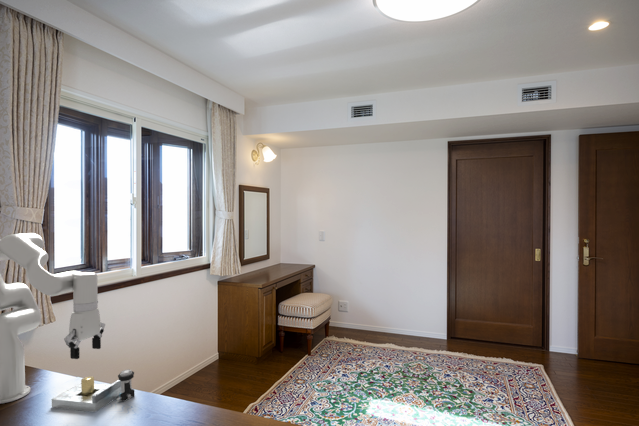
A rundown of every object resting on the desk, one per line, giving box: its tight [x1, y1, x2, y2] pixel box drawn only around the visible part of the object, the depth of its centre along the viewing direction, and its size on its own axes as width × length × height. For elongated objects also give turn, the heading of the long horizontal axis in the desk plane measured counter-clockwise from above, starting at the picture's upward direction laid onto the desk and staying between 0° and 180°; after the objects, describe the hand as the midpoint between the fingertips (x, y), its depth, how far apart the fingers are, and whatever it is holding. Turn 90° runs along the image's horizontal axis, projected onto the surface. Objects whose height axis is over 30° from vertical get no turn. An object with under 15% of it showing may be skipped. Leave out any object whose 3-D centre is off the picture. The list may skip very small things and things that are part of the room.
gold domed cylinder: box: [80, 375, 95, 397], centre depth 138 cm, size 4×4×8 cm
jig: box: [51, 379, 121, 413], centre depth 138 cm, size 18×13×6 cm
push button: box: [116, 368, 136, 403], centre depth 138 cm, size 7×5×10 cm
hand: (86, 353), depth 138 cm, fingers open, 9 cm apart
